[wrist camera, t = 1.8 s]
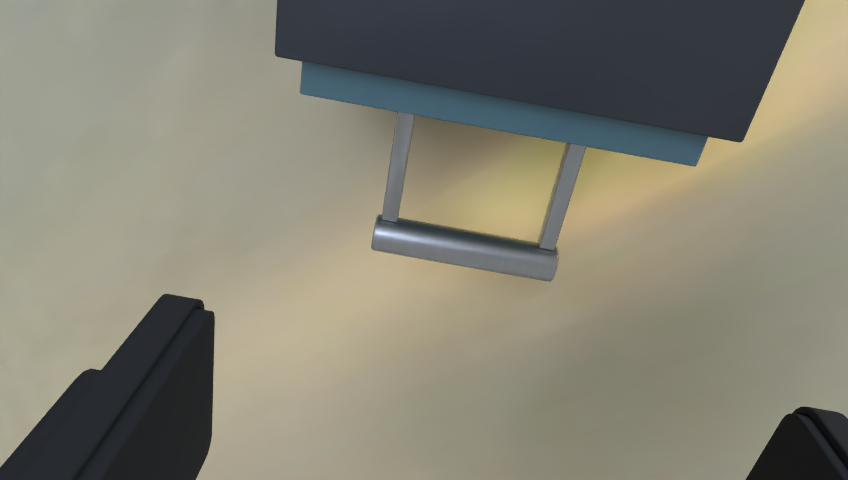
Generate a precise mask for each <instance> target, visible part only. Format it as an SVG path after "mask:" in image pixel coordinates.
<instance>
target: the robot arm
mask: <svg viewBox="0 0 848 480" xmlns="http://www.w3.org/2000/svg"><path fill="white" fill-rule="evenodd" d="M214 325H215V317H214V312H212V311H207V310H204V304H203V301H201V300H199V299H193V298H187V297H182V296H176V295H170V294H164V295H162V296H161V297H160V298H159V299H158V301H157V302H156V303H155V304H154V306H153V307H152V308H151V309H150V311H149V312H148V313H147V314H146V315H145V317H144V318H143V319H142V320H141V322H140V323H139V324H138V325H137V327H136V328H135V329H134V330H133V332H132V333H131V334H130V335H129V337H128V338H127V339H126V340H125V341H124V343H123V344H122V345H121V346H120V348H119V349H118V350H117V351H116V353H115V354H114V355H113V356H112V358H111V359H110V360H109V361H108V362H107V364H106V365H105V366H104V367H103V369H102V370H96V369H89V370H86V371H84V372H83V373H82V374H80V375H79V376H78V377H77V378H76V379H75V380H74V382H73V383H72V384H71V385H70V386H69V387H68V389H67V390H66V391H65V392H64V393H63V395H62V396H61V397H60V398H59V399H58V400H57V402H56V403H55V404H54V405H53V406H52V407H51V409H50V410H49V411H48V412H47V413H46V415H45V416H44V417H43V418H42V419H41V420H40V422H39V423H38V424H37V425H36V426H35V427H34V429H33V430H32V431H31V432H30V433H29V435H28V436H27V437H26V438H25V439H24V440H23V442H22V443H21V444H20V445H19V446H18V447H17V449H16V450H15V451H14V452H13V453H12V455H11V456H10V457H9V458H8V459H7V460H6V462H5V463H4V464H3V465H2V466H1V467H0V480H196V478H197V476H198V474H199V471H200V469H201V467H202V465H203V463H204V461H205V459H206V456H207V454H208V451H209V447H210V443H211V437H212V406H213V366H214ZM746 480H848V418H846V417H845V416H844V415H843V414H840V413H838V412H833V411H827V410H822V409H816V408H810V407H800V408H798V409H796V410H795V411H794V412H793V413H792V414H788V415H786V416H785V417H784V418H783V419H782V421H781V422H780V424H779V425H778V427H777V429H776V430H775V432H774V434H773V435H772V437H771V439H770V440H769V442H768V444H767V445H766V447H765V449H764V450H763V452H762V454H761V455H760V457H759V458H758V460H757V462H756V463H755V465H754V467H753V468H752V470H751V472H750V473H749V475H748V477H747V478H746Z"/></svg>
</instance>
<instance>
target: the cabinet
mask: <svg viewBox="0 0 848 480" xmlns="http://www.w3.org/2000/svg"><path fill="white" fill-rule="evenodd" d="M804 1H805V0H277V18H276V38H275V55H276V56H277V57H281V58H287V59H292V60H298V61H303V62H308V63H314V64H319V65H325V66H330V67H335V68H341V69H346V70H351V71H357V72H362V73H368V74H373V75H378V76H384V77H389V78H395V79H400V80H405V81H411V82H416V83H422V84H427V85H432V86H438V87H443V88H449V89H454V90H459V91H465V92H470V93H475V94H481V95H486V96H492V97H497V98H502V99H508V100H513V101H519V102H524V103H529V104H535V105H540V106H546V107H551V108H556V109H562V110H567V111H573V112H578V113H583V114H589V115H594V116H599V117H605V118H610V119H616V120H621V121H626V122H632V123H637V124H643V125H648V126H653V127H659V128H664V129H670V130H675V131H680V132H686V133H691V134H697V135H702V136H707V137H713V138H718V139H723V140H729V141H734V142H742V141H743V140H744V137H745V135H746V133H747V131H748V128H749V126H750V124H751V122H752V119H753V117H754V115H755V112H756V110H757V108H758V106H759V103H760V101H761V99H762V97H763V94H764V92H765V90H766V88H767V85H768V83H769V81H770V78H771V76H772V74H773V72H774V69H775V67H776V65H777V63H778V60H779V58H780V56H781V54H782V51H783V49H784V47H785V44H786V42H787V40H788V38H789V35H790V33H791V31H792V29H793V26H794V24H795V22H796V20H797V17H798V15H799V13H800V10H801V8H802V6H803V4H804Z"/></svg>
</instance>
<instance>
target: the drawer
mask: <svg viewBox="0 0 848 480" xmlns="http://www.w3.org/2000/svg"><path fill="white" fill-rule="evenodd" d="M300 93H301V94H304V95H309V96H315V97H320V98H325V99H331V100H336V101H342V102H347V103H353V104H358V105H363V106H369V107H374V108H380V109H385V110H391V111H396V112H398V113H397V119H396V126H395V132H394V139H393V146H392V152H391V159H390V166H389V172H388V179H387V185H386V192H385V199H384V205H383V212H382V215H381V214H379V215H378V216H377V218H376V222H375V227H374V232H373V238H372V246H371V248H372V250H374V251H380V252H385V253H391V254H397V255H402V256H408V257H413V258H419V259H425V260H430V261H436V262H441V263H447V264H453V265H458V266H464V267H469V268H475V269H481V270H486V271H492V272H497V273H503V274H509V275H514V276H520V277H525V278H531V279H537V280H542V281H548V282H550V281H552V279H553V278H554V276H555V273H556V270H557V265H558V248H557V247H556V243H557V240H558V236H559V233H560V230H561V227H562V224H563V220H564V217H565V214H566V211H567V208H568V204H569V201H570V198H571V195H572V192H573V188H574V185H575V182H576V179H577V176H578V173H579V169H580V166H581V163H582V160H583V157H584V153H585V150H586V147H592V148H597V149H602V150H608V151H613V152H619V153H624V154H630V155H635V156H640V157H646V158H651V159H657V160H662V161H668V162H673V163H678V164H684V165H689V166H696V165H697V163H698V160H699V158H700V155H701V153H702V151H703V148H704V146H705V143H706V141H707V138H708V137H707V136H702V135H697V134H691V133H686V132H680V131H675V130H670V129H664V128H659V127H653V126H648V125H643V124H637V123H632V122H626V121H621V120H616V119H610V118H605V117H599V116H594V115H589V114H583V113H578V112H573V111H567V110H562V109H556V108H551V107H546V106H540V105H535V104H529V103H524V102H519V101H513V100H508V99H502V98H497V97H492V96H486V95H481V94H475V93H470V92H465V91H459V90H454V89H449V88H443V87H438V86H432V85H427V84H422V83H416V82H411V81H405V80H400V79H395V78H389V77H384V76H378V75H373V74H368V73H362V72H357V71H351V70H346V69H341V68H335V67H330V66H325V65H319V64H314V63H308V62H303V61H302V74H301V88H300ZM415 115H418V116H423V117H429V118H434V119H439V120H445V121H450V122H456V123H461V124H467V125H472V126H477V127H483V128H488V129H494V130H499V131H505V132H510V133H516V134H521V135H526V136H532V137H537V138H543V139H548V140H554V141H559V142H564V143H566V146H565V150H564V153H563V157H562V160H561V163H560V167H559V170H558V174H557V177H556V180H555V184H554V187H553V190H552V194H551V197H550V201H549V204H548V207H547V211H546V214H545V218H544V221H543V224H542V228H541V231H540V235H539V238H538V243H536V242H531V241H525V240H519V239H514V238H508V237H503V236H497V235H492V234H486V233H481V232H475V231H469V230H464V229H458V228H453V227H447V226H442V225H436V224H431V223H425V222H419V221H414V220H408V219H403V218H398V216H399V210H400V204H401V198H402V192H403V186H404V180H405V174H406V168H407V162H408V156H409V150H410V144H411V138H412V132H413V126H414V120H415Z"/></svg>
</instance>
